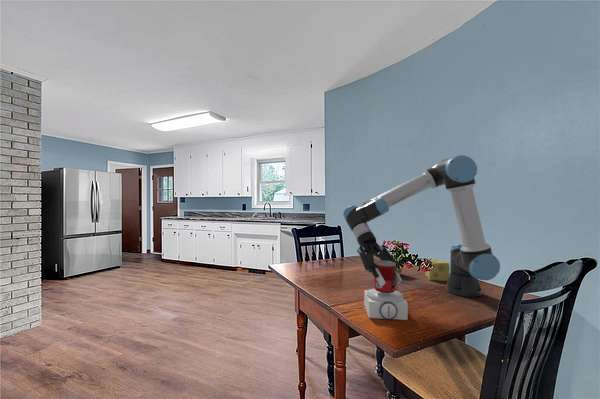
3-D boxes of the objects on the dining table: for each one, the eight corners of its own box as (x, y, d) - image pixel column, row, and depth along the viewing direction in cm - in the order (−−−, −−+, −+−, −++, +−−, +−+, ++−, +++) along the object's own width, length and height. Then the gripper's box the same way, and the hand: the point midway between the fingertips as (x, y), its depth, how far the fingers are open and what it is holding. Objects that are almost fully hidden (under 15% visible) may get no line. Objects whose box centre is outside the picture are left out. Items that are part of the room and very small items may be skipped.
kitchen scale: (398, 305, 122) (398, 289, 122) (408, 321, 107) (408, 301, 107) (364, 304, 123) (364, 287, 123) (369, 319, 108) (369, 300, 108)
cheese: (429, 280, 161) (429, 262, 161) (424, 275, 172) (424, 258, 172) (449, 281, 160) (449, 263, 160) (443, 276, 170) (443, 259, 170)
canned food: (396, 294, 111) (396, 265, 111) (374, 292, 113) (375, 263, 113) (394, 288, 119) (394, 260, 119) (373, 286, 120) (374, 259, 120)
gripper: (378, 240, 134) (405, 285, 120) (341, 242, 124) (365, 292, 110) (386, 229, 129) (416, 275, 115) (349, 231, 120) (375, 281, 106)
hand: (391, 283), depth 113 cm, fingers closed on canned food, 8 cm apart
